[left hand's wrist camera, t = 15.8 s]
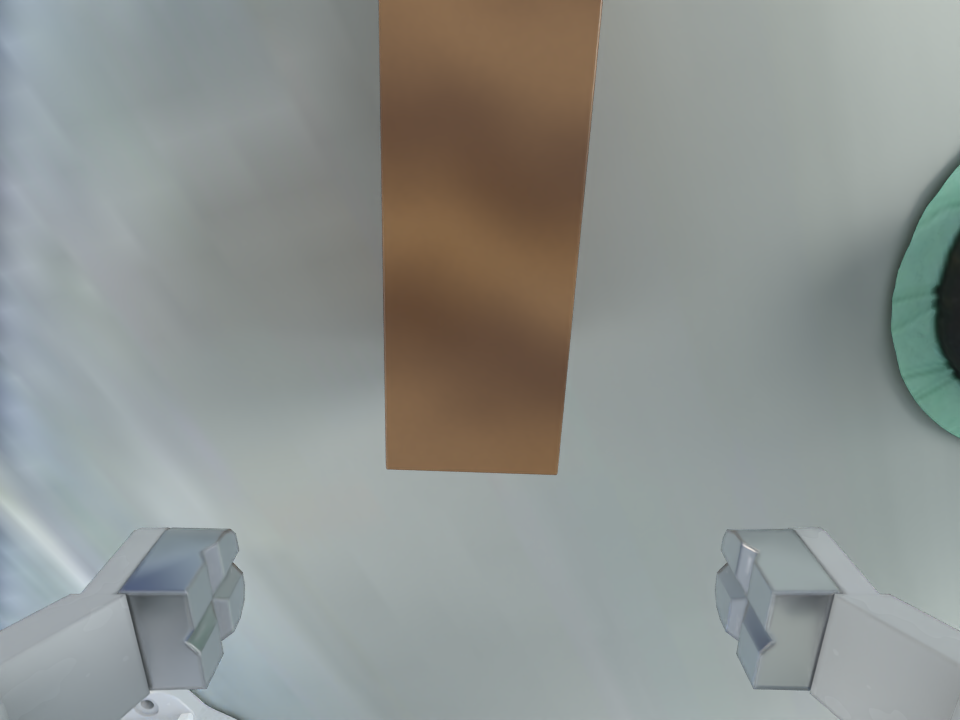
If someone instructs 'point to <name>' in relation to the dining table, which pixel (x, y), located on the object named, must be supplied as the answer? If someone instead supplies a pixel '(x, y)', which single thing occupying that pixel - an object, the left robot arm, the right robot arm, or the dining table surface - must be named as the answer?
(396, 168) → the box
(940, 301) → the green dome on base
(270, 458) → the dining table surface
